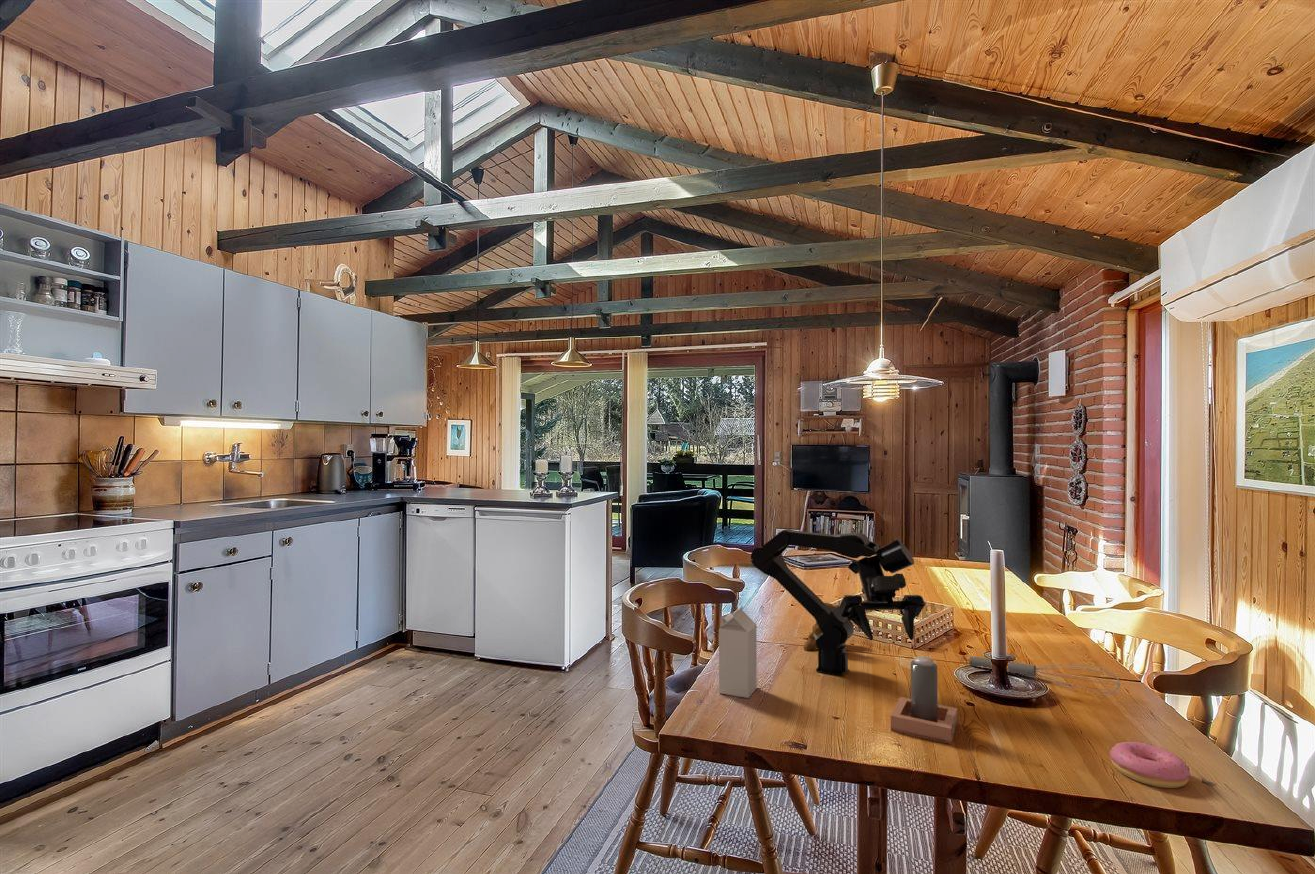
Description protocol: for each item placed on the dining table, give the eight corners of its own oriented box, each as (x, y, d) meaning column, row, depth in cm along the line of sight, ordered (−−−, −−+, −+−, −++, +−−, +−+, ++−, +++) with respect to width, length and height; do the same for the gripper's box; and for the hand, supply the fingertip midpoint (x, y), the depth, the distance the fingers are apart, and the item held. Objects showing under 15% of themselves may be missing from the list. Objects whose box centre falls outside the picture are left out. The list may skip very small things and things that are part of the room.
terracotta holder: (890, 730, 122) (890, 715, 122) (900, 710, 132) (900, 696, 132) (951, 744, 116) (951, 728, 116) (957, 722, 126) (957, 708, 126)
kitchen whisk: (965, 661, 164) (964, 637, 164) (1122, 696, 141) (1121, 668, 141) (958, 667, 159) (957, 643, 159) (1119, 704, 136) (1119, 675, 137)
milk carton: (756, 688, 144) (756, 607, 145) (748, 699, 138) (748, 614, 138) (728, 683, 147) (728, 604, 148) (718, 693, 141) (718, 611, 141)
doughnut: (1130, 788, 102) (1130, 763, 102) (1097, 756, 112) (1097, 733, 112) (1206, 796, 99) (1206, 770, 99) (1165, 762, 110) (1165, 739, 110)
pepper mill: (909, 725, 123) (908, 660, 124) (913, 716, 127) (912, 653, 128) (936, 731, 121) (935, 665, 121) (939, 721, 125) (938, 657, 125)
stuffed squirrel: (801, 650, 171) (801, 603, 172) (817, 637, 183) (816, 594, 184) (837, 657, 166) (837, 608, 166) (850, 643, 178) (850, 598, 178)
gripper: (843, 561, 143) (860, 621, 132) (921, 560, 144) (944, 620, 132) (832, 587, 151) (847, 646, 140) (906, 586, 151) (928, 645, 140)
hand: (891, 639), depth 138 cm, fingers open, 9 cm apart
